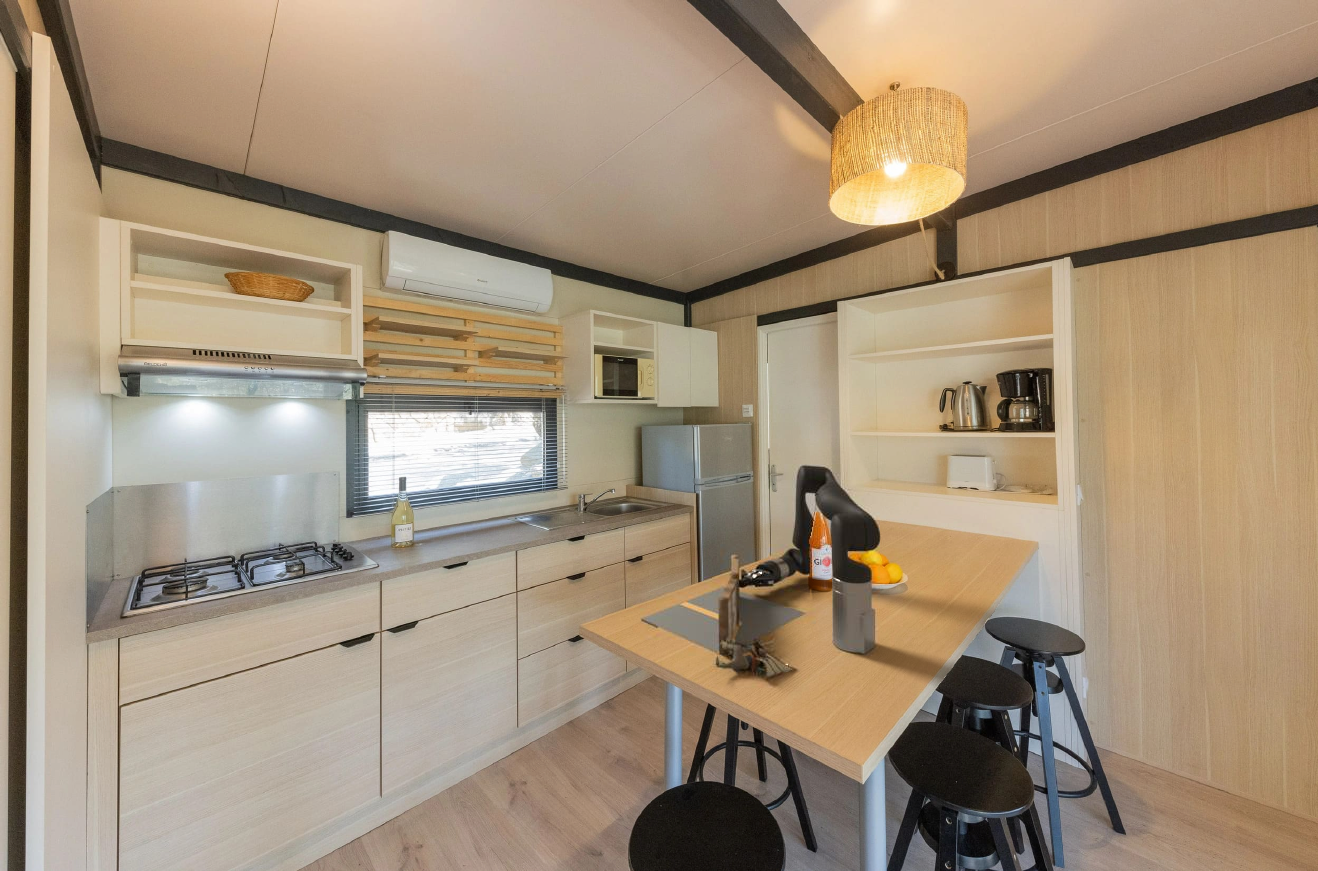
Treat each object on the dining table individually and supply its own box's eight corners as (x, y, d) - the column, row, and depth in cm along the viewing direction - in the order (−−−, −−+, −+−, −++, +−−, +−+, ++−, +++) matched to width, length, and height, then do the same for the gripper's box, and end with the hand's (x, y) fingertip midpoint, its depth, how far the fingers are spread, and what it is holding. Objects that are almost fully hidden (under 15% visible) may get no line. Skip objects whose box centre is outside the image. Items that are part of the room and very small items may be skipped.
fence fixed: (731, 621, 136) (730, 572, 136) (739, 621, 136) (739, 572, 135) (718, 654, 117) (717, 597, 117) (727, 655, 117) (727, 598, 116)
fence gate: (739, 620, 136) (738, 574, 136) (730, 619, 137) (730, 574, 136) (739, 594, 155) (739, 554, 155) (731, 594, 156) (731, 554, 155)
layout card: (807, 614, 141) (807, 612, 141) (725, 659, 116) (725, 656, 116) (724, 587, 164) (724, 586, 164) (640, 620, 139) (640, 618, 139)
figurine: (743, 619, 124) (808, 642, 114) (741, 641, 125) (805, 666, 115) (704, 651, 108) (776, 681, 98) (702, 676, 108) (773, 709, 99)
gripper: (755, 556, 165) (723, 567, 154) (789, 564, 155) (757, 577, 144) (756, 578, 166) (723, 590, 154) (789, 587, 156) (757, 602, 144)
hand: (739, 584), depth 149 cm, fingers closed
